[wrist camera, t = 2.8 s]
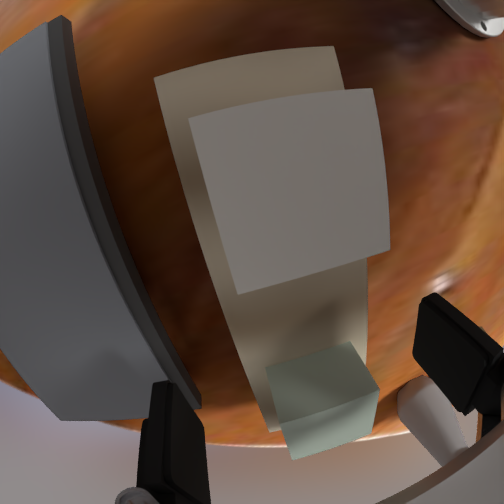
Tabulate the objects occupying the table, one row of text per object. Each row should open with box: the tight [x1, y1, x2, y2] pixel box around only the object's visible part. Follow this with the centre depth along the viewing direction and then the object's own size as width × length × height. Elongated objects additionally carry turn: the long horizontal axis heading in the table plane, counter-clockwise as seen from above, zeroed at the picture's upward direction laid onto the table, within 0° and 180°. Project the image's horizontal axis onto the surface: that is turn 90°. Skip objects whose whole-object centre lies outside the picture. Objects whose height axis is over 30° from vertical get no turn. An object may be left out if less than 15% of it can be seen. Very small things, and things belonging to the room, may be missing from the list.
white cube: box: [188, 88, 390, 295], centre depth 8 cm, size 4×4×4 cm
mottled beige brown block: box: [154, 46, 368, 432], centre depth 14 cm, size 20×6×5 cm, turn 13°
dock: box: [0, 15, 202, 421], centre depth 13 cm, size 24×13×3 cm, turn 13°
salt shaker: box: [397, 375, 469, 467], centre depth 19 cm, size 6×6×13 cm
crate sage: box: [265, 341, 380, 460], centre depth 13 cm, size 4×4×4 cm
